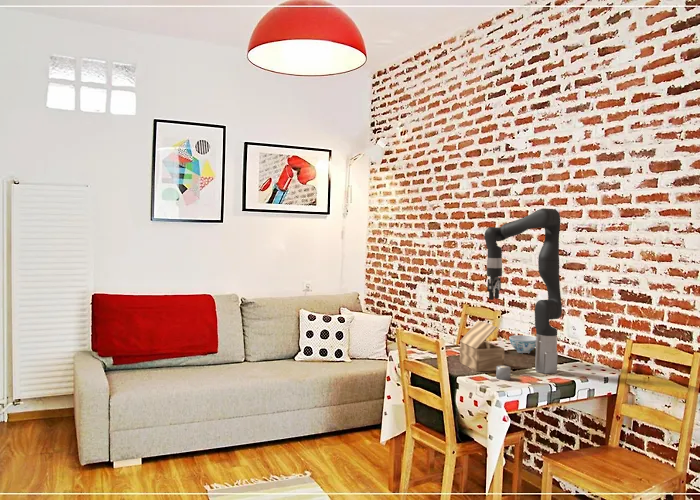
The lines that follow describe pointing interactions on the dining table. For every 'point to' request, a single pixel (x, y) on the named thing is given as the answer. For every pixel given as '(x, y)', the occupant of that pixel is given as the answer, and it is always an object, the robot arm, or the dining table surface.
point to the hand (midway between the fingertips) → (494, 299)
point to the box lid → (478, 334)
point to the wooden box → (482, 356)
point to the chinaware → (523, 343)
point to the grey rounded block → (503, 372)
